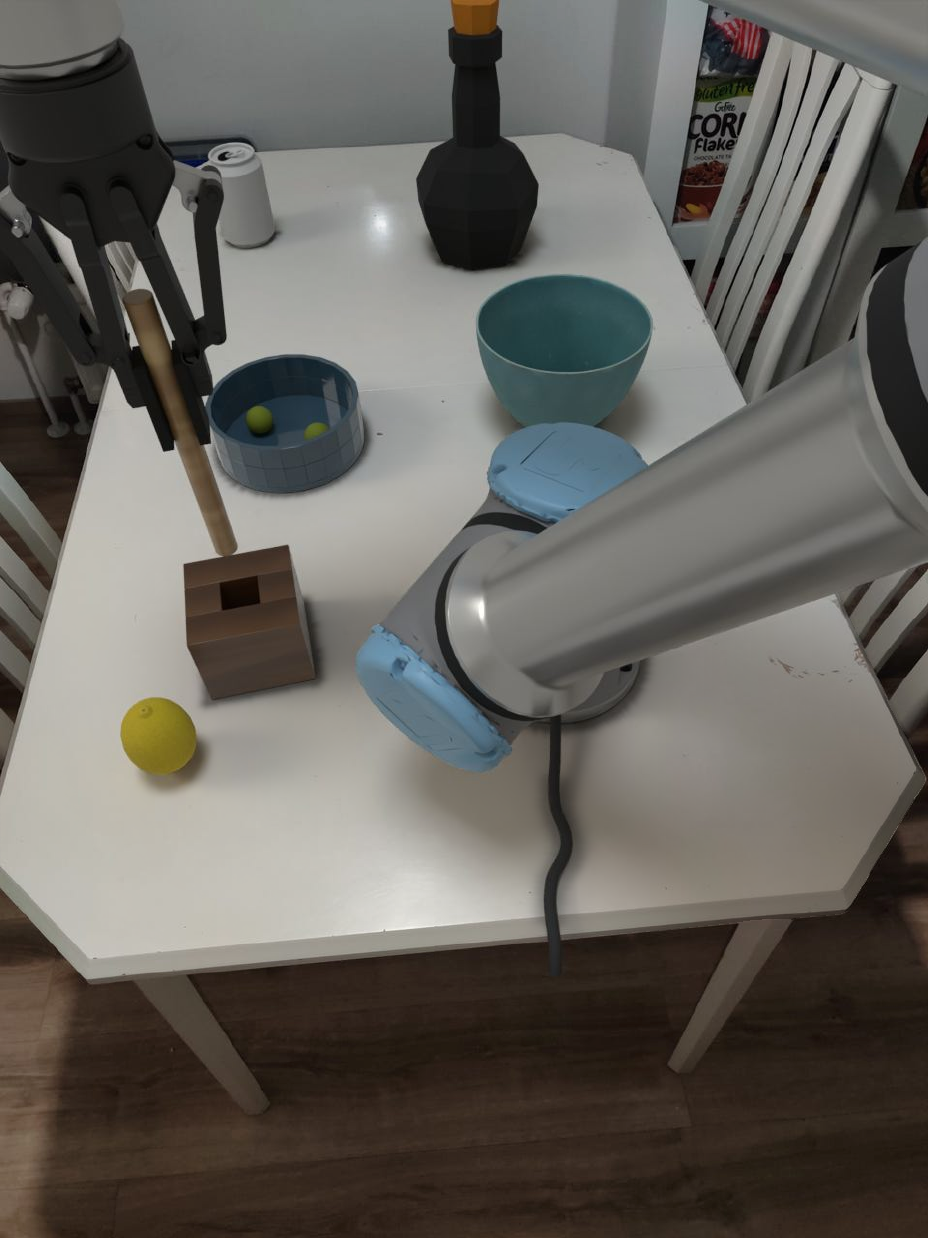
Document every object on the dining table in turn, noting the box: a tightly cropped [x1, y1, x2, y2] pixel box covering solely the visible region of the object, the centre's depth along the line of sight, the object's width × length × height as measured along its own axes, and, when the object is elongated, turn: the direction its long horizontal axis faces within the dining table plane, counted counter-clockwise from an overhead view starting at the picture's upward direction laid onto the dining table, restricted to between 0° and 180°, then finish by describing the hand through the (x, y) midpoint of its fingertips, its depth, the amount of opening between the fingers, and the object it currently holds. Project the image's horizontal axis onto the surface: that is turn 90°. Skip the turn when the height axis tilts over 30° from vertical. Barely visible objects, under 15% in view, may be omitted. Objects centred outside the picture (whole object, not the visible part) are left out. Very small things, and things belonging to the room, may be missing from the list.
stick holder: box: [182, 544, 316, 700], centre depth 76 cm, size 9×9×8 cm
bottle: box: [415, 0, 540, 272], centre depth 110 cm, size 16×16×30 cm
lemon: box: [119, 696, 198, 776], centre depth 69 cm, size 6×6×8 cm
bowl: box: [204, 353, 365, 494], centre depth 95 cm, size 16×16×6 cm
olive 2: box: [304, 422, 329, 440], centre depth 94 cm, size 3×3×3 cm
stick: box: [122, 288, 239, 557], centre depth 60 cm, size 2×2×22 cm
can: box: [205, 142, 276, 249], centre depth 121 cm, size 8×8×12 cm
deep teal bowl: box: [475, 273, 654, 428], centre depth 94 cm, size 18×18×12 cm
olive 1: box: [246, 406, 273, 434], centre depth 96 cm, size 3×3×3 cm
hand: (186, 434), depth 60 cm, fingers closed on stick, 2 cm apart
